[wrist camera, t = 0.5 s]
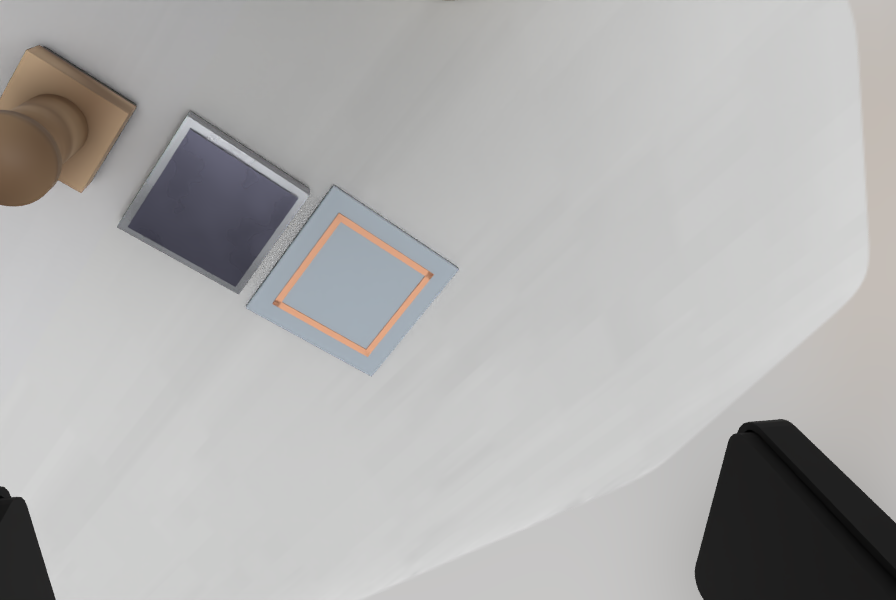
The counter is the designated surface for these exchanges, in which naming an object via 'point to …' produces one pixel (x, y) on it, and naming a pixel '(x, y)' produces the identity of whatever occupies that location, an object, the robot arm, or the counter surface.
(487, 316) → the counter surface
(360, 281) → the card
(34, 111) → the stamp
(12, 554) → the robot arm
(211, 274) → the ink pad
